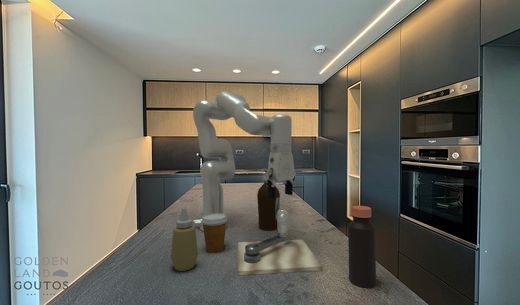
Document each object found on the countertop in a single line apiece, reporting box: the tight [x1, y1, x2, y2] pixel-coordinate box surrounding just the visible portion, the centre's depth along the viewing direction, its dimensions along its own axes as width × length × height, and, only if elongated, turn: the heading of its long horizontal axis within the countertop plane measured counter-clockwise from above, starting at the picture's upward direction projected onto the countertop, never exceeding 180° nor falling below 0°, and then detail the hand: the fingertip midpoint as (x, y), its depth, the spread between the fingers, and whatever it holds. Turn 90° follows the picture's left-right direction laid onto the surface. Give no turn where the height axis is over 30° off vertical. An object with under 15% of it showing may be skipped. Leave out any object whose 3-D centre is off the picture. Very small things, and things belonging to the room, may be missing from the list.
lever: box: [245, 207, 288, 256], centre depth 81 cm, size 19×4×12 cm, turn 135°
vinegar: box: [347, 205, 377, 289], centre depth 64 cm, size 7×7×20 cm
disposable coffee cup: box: [201, 213, 229, 253], centre depth 87 cm, size 10×10×12 cm
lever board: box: [237, 239, 324, 276], centre depth 80 cm, size 25×22×3 cm
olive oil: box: [256, 182, 281, 231], centre depth 111 cm, size 11×11×25 cm
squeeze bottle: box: [170, 208, 199, 272], centre depth 74 cm, size 8×8×18 cm
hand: (280, 196), depth 87 cm, fingers open, 9 cm apart
